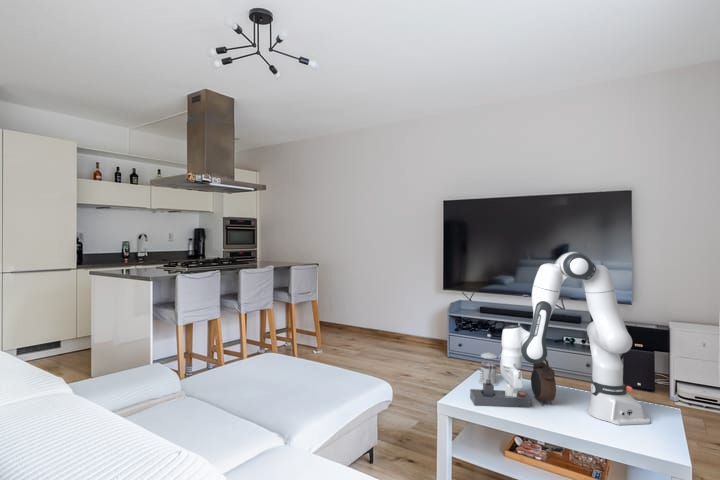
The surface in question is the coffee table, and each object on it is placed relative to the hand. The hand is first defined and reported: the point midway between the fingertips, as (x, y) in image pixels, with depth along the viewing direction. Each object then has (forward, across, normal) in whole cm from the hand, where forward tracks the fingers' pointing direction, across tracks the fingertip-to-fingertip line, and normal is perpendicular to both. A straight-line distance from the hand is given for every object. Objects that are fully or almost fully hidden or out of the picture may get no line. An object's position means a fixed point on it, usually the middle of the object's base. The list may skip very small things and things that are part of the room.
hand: (510, 392), depth 184 cm
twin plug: (+5, 0, +10) cm, 11 cm away
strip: (+5, 0, +5) cm, 7 cm away
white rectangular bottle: (+5, 0, 0) cm, 5 cm away
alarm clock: (+5, +3, -15) cm, 16 cm away
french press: (+5, +25, +3) cm, 26 cm away
